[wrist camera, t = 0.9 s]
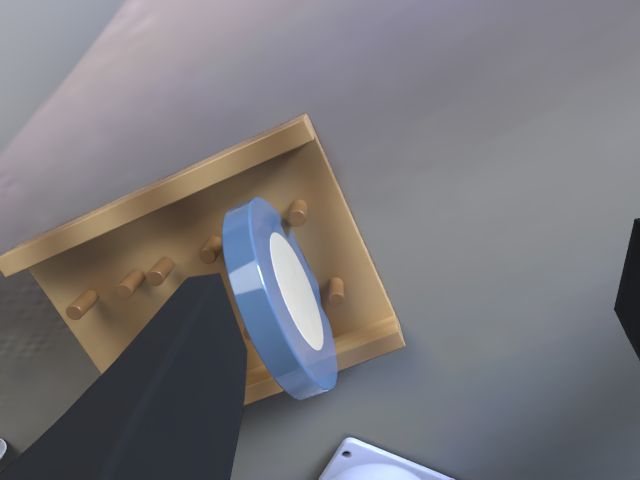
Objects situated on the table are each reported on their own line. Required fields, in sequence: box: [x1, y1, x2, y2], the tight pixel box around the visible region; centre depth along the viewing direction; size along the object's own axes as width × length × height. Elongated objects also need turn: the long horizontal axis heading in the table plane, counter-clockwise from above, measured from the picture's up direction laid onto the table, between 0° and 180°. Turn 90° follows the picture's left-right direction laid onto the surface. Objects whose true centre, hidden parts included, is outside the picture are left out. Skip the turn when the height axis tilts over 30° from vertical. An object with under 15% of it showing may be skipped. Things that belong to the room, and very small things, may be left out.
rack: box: [0, 113, 405, 406], centre depth 25 cm, size 16×12×3 cm
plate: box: [222, 197, 337, 400], centre depth 21 cm, size 1×8×8 cm, turn 24°
